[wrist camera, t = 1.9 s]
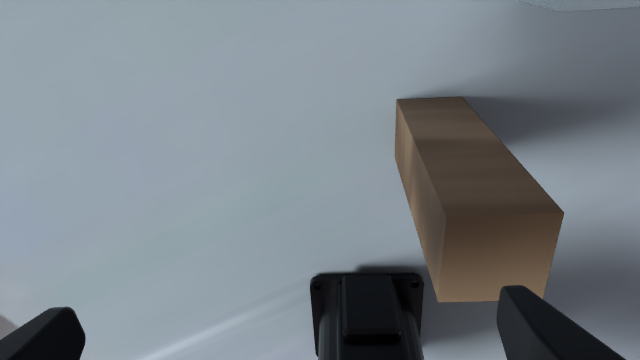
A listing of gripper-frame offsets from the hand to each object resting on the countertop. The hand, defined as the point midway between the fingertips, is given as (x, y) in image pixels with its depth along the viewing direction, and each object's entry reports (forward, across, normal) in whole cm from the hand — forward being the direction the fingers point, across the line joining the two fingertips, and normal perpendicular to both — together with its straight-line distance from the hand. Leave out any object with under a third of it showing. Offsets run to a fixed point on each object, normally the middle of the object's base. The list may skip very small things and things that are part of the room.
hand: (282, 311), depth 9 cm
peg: (+13, -6, +1) cm, 14 cm away
